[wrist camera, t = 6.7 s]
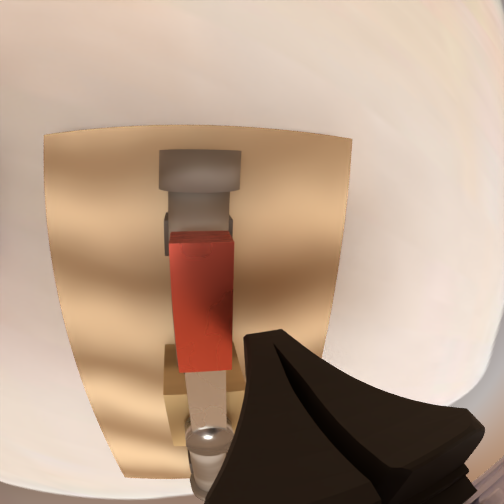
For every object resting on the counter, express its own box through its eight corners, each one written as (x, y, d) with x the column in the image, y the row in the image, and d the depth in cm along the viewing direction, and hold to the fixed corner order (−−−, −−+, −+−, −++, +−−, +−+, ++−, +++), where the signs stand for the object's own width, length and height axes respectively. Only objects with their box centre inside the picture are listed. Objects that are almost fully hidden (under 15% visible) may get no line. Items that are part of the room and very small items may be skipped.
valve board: (55, 135, 13) (1, 133, 8) (339, 139, 16) (400, 139, 11) (125, 465, 22) (124, 513, 17) (288, 454, 25) (306, 498, 20)
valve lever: (231, 435, 14) (235, 455, 13) (186, 438, 14) (188, 458, 12) (233, 230, 11) (241, 241, 9) (164, 231, 10) (161, 243, 9)
